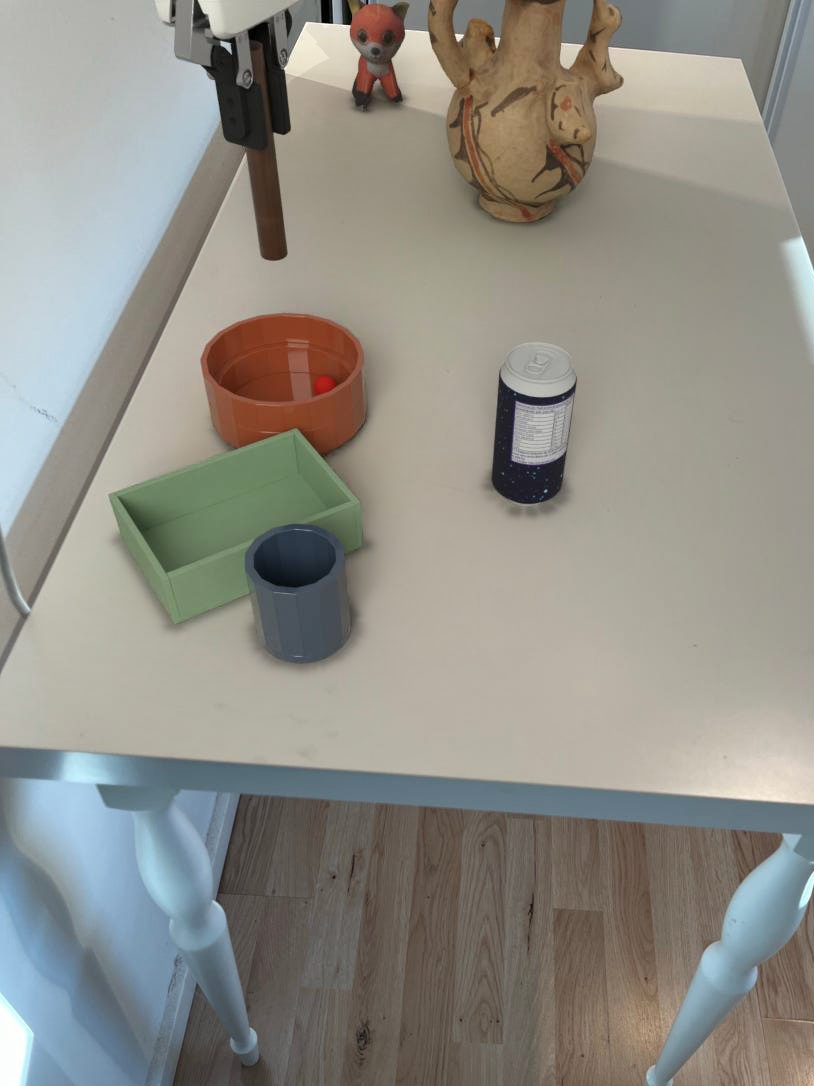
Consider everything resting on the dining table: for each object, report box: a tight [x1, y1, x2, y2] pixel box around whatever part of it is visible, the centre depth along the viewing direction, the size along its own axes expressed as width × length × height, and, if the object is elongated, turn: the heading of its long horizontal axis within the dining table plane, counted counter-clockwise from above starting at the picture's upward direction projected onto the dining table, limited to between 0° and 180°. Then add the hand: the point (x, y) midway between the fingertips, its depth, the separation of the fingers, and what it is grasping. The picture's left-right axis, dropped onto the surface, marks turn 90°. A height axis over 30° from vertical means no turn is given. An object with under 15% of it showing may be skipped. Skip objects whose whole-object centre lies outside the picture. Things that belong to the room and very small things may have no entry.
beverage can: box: [491, 341, 578, 507], centre depth 74 cm, size 6×6×12 cm
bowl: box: [199, 312, 368, 457], centre depth 81 cm, size 13×13×6 cm
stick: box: [244, 40, 289, 262], centre depth 67 cm, size 2×2×14 cm
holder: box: [245, 523, 352, 664], centre depth 66 cm, size 6×6×7 cm
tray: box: [107, 428, 364, 625], centre depth 72 cm, size 15×10×4 cm, turn 124°
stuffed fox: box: [347, 0, 410, 112], centre depth 123 cm, size 8×11×12 cm
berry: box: [314, 375, 337, 396], centre depth 84 cm, size 2×2×2 cm
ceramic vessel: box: [427, 0, 625, 224], centre depth 101 cm, size 18×19×25 cm
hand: (257, 134), depth 66 cm, fingers closed on stick, 2 cm apart
